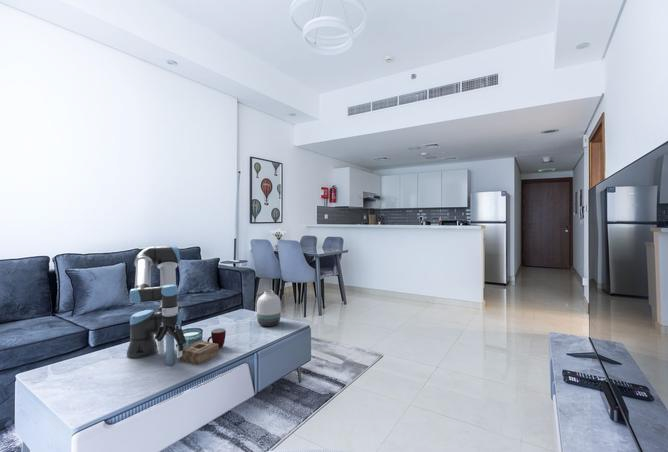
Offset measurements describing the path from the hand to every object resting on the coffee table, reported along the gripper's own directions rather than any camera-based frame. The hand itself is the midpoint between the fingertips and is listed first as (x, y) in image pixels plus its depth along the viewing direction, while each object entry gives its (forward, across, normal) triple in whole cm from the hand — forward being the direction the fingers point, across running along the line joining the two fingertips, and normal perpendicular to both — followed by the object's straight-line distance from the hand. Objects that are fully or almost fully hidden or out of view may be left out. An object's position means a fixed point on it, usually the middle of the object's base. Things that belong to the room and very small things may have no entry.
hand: (170, 354), depth 170 cm
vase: (+5, +10, +75) cm, 76 cm away
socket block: (+5, +8, +12) cm, 15 cm away
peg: (+5, 0, 0) cm, 5 cm away
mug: (+5, +7, +26) cm, 27 cm away
